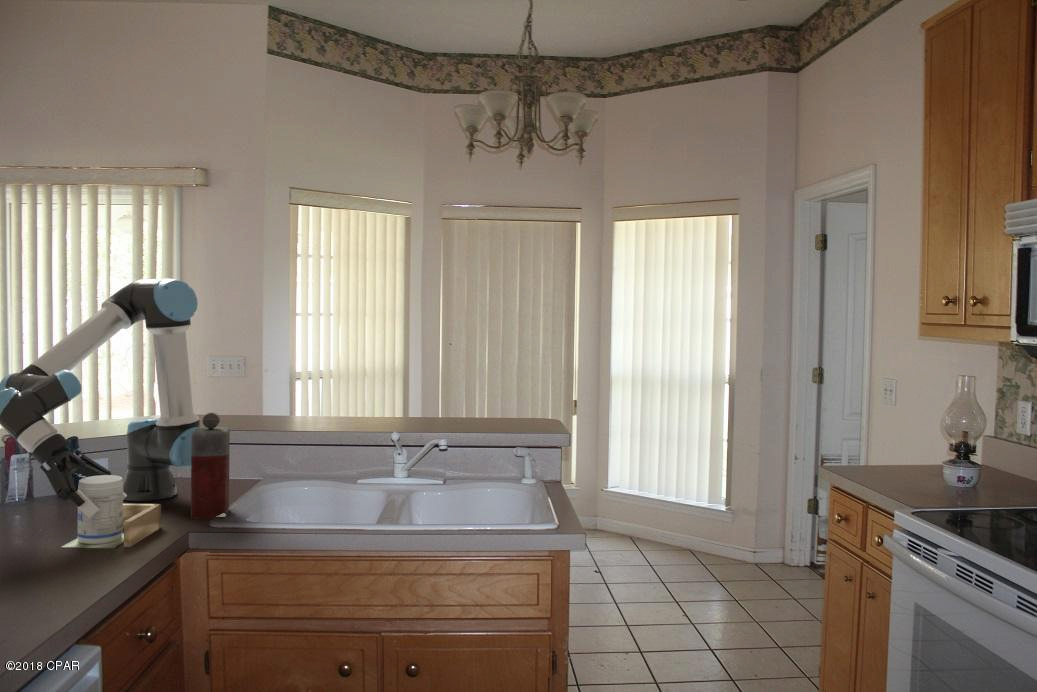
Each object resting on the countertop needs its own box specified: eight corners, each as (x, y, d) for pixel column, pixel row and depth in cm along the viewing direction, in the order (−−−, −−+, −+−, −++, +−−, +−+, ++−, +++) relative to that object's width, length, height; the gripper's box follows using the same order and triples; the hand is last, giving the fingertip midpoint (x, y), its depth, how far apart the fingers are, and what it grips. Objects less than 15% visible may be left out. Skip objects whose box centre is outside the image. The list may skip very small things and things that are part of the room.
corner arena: (61, 547, 175) (61, 522, 175) (100, 526, 193) (100, 503, 192) (128, 548, 176) (128, 522, 175) (161, 527, 193) (161, 504, 193)
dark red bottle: (229, 507, 215) (230, 409, 214) (226, 517, 204) (227, 414, 203) (195, 508, 212) (196, 409, 211) (190, 519, 202) (191, 414, 201)
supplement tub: (73, 538, 181) (73, 477, 181) (116, 531, 188) (116, 473, 187) (83, 548, 174) (83, 484, 174) (128, 540, 181) (128, 479, 180)
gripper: (62, 445, 192) (122, 504, 193) (-1, 464, 167) (69, 532, 168) (84, 425, 192) (143, 484, 193) (24, 440, 167) (93, 508, 169)
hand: (109, 506), depth 181 cm, fingers open, 13 cm apart
